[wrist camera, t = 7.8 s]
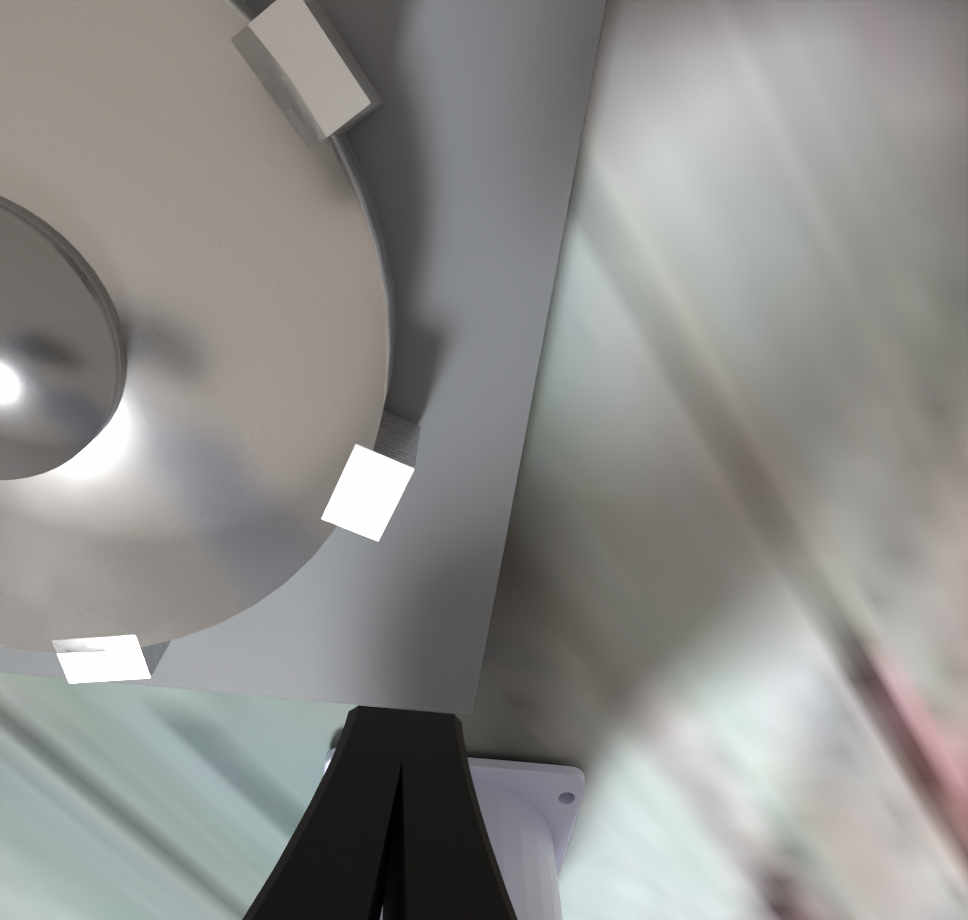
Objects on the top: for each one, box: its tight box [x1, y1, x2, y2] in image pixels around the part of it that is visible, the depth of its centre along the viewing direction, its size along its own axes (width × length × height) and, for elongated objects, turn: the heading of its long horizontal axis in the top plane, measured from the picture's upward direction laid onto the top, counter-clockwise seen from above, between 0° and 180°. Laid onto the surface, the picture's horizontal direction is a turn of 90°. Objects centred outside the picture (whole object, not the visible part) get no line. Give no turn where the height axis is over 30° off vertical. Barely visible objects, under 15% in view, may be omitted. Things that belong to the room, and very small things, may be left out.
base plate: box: [0, 0, 607, 715], centre depth 15 cm, size 20×20×2 cm
